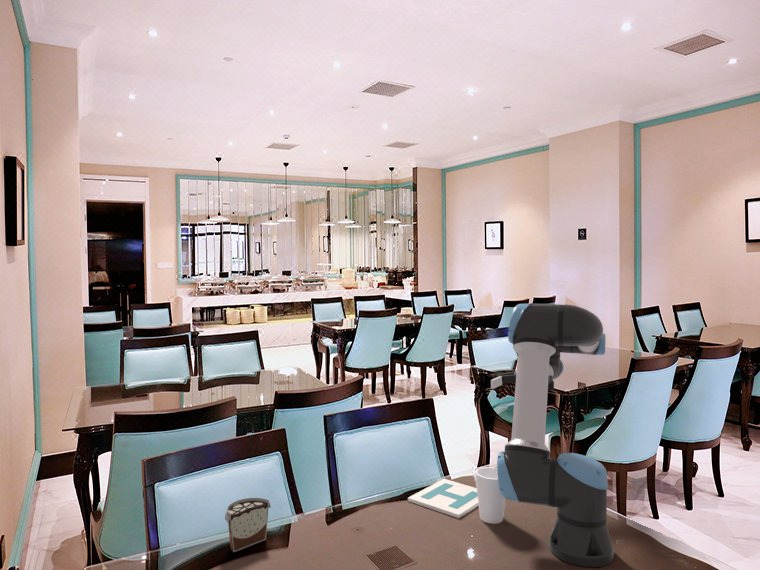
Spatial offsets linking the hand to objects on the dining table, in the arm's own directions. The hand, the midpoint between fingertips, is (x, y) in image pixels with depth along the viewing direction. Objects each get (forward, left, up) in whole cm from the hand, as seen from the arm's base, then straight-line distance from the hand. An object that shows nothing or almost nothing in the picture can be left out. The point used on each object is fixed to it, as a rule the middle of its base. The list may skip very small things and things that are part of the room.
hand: (512, 387), depth 171 cm
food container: (+40, +70, -34) cm, 88 cm away
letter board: (+13, +13, -34) cm, 39 cm away
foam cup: (-3, +17, -34) cm, 38 cm away
